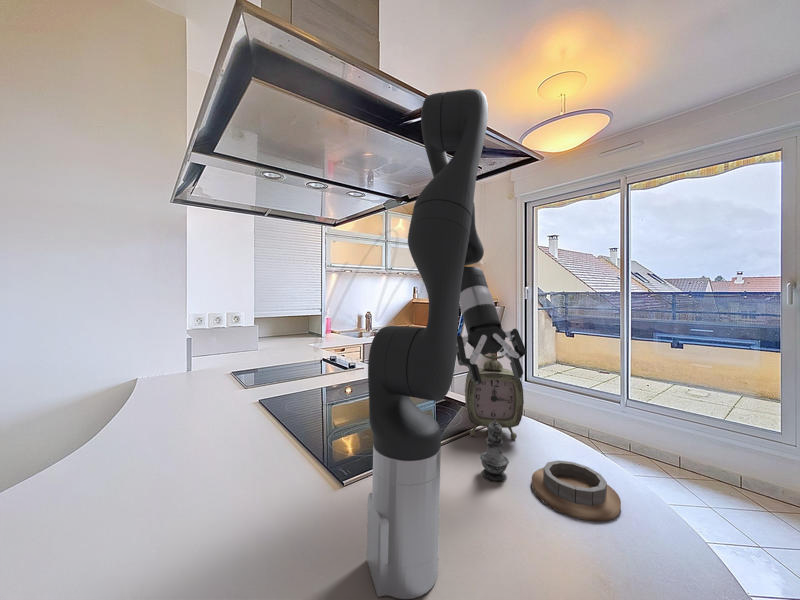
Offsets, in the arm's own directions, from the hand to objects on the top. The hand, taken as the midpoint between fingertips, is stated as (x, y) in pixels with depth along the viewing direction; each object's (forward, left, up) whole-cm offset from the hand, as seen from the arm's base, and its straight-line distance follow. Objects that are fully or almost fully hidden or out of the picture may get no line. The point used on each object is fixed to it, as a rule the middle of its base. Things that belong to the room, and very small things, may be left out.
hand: (499, 381), depth 65 cm
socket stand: (+12, -8, -21) cm, 25 cm away
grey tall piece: (+1, +2, -21) cm, 21 cm away
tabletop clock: (+13, +20, -21) cm, 32 cm away
